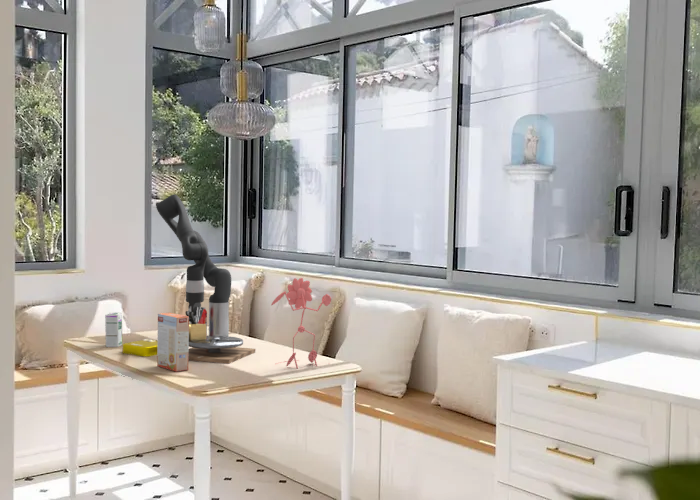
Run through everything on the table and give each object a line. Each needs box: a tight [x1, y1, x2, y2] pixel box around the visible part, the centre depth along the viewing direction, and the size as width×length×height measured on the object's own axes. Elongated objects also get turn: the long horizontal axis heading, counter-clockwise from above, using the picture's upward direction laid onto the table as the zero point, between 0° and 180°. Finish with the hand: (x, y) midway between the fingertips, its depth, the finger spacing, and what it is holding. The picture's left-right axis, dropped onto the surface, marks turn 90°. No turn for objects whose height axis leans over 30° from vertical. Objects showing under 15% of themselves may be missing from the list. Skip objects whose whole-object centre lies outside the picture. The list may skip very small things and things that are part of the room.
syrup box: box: [104, 312, 123, 348], centre depth 340 cm, size 6×6×14 cm
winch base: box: [188, 346, 256, 364], centre depth 324 cm, size 27×26×5 cm
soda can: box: [189, 306, 208, 336], centre depth 360 cm, size 8×8×15 cm
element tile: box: [122, 338, 158, 358], centre depth 328 cm, size 15×15×5 cm
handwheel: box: [189, 322, 244, 349], centre depth 324 cm, size 24×24×8 cm
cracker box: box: [156, 312, 190, 373], centre depth 297 cm, size 14×6×21 cm, turn 43°
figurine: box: [270, 277, 332, 369], centre depth 309 cm, size 15×26×35 cm, turn 127°
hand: (194, 331), depth 327 cm, fingers closed
